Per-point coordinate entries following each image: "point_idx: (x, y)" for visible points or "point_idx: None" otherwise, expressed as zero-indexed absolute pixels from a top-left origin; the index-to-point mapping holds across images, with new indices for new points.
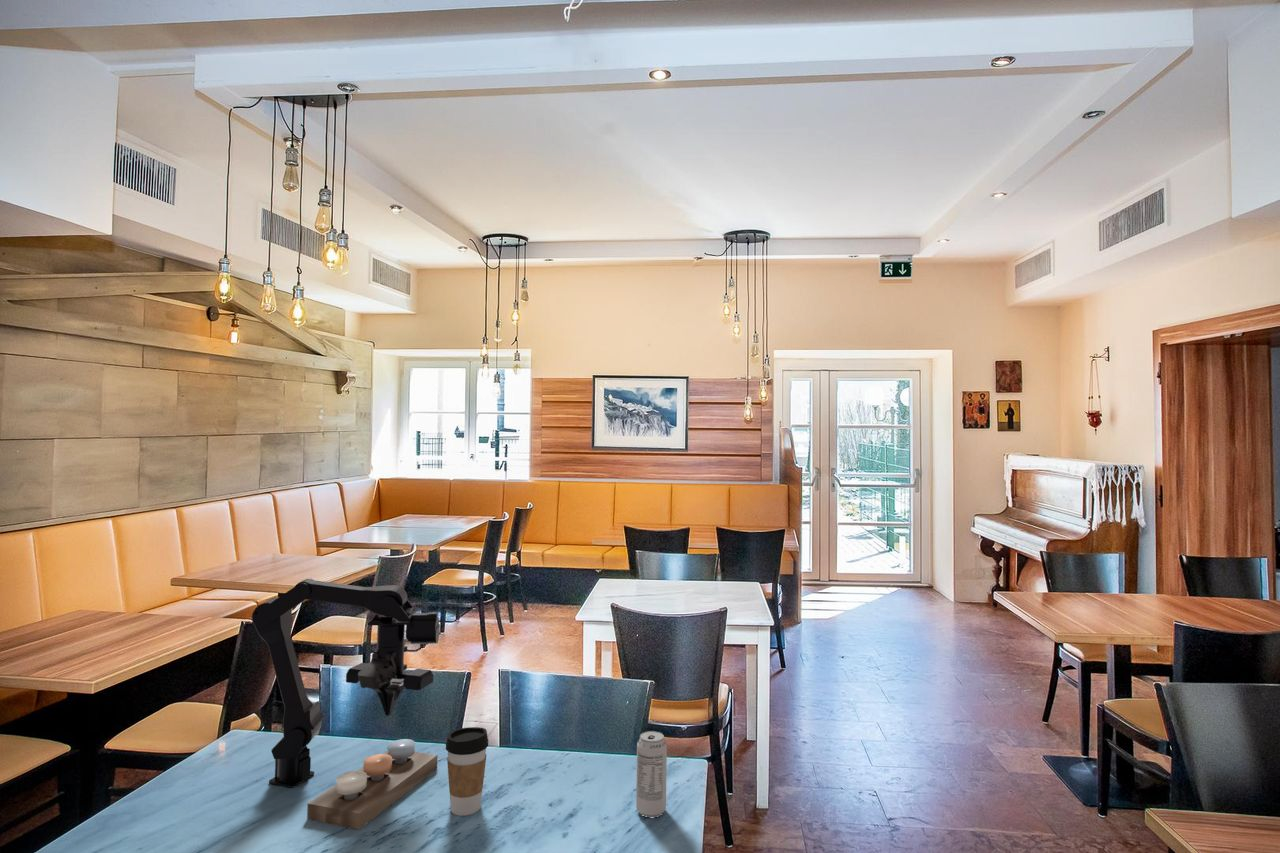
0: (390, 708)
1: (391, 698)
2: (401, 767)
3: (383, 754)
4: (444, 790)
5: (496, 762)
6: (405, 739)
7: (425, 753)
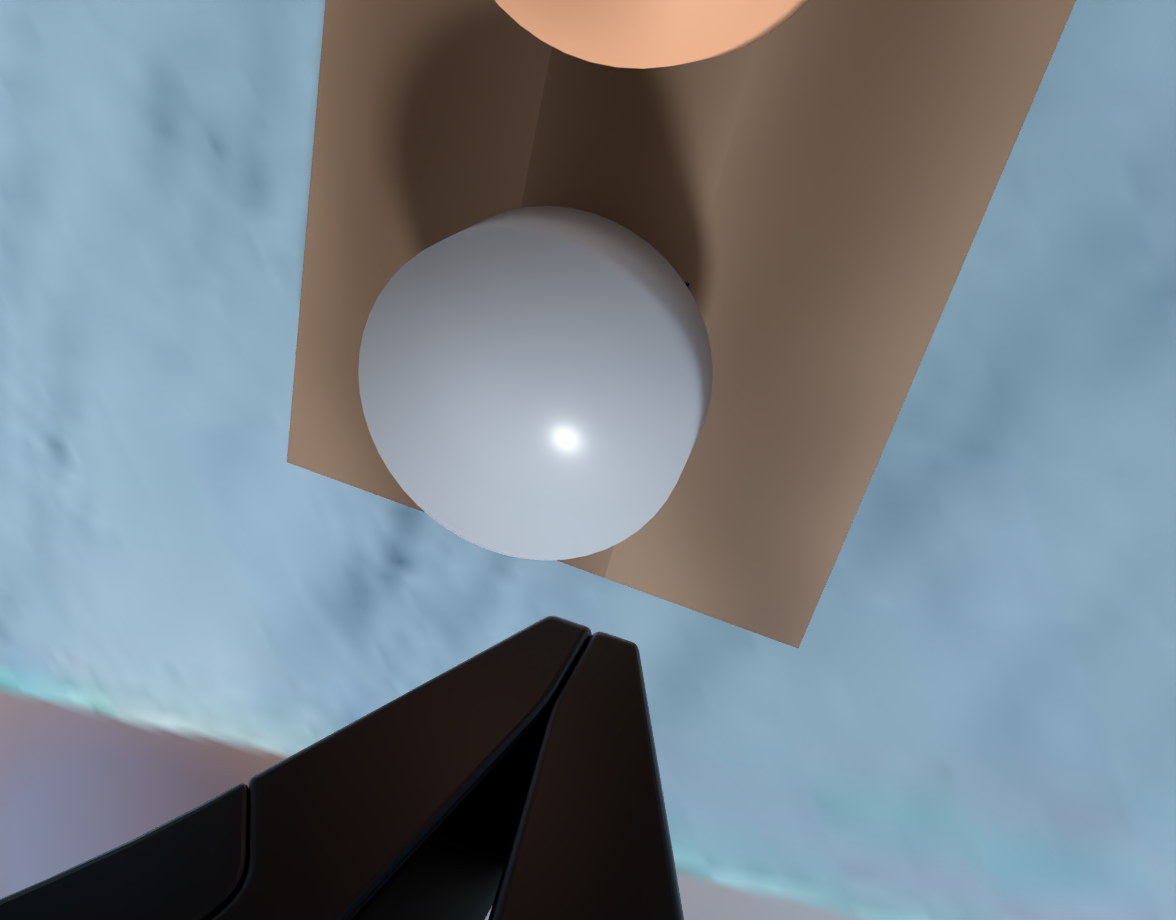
0: (411, 695)
1: (87, 884)
2: (510, 176)
3: (632, 50)
4: (113, 2)
5: (2, 495)
6: (529, 548)
7: (407, 500)
